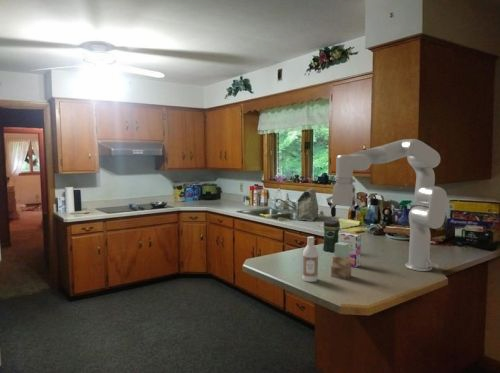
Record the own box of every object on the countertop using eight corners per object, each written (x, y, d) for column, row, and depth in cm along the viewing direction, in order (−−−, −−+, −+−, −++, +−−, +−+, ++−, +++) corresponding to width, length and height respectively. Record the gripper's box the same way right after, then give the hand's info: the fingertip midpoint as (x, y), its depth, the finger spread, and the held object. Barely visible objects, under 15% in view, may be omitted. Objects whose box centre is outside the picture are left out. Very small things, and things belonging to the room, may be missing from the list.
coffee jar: (340, 249, 224) (341, 219, 222) (337, 253, 217) (338, 221, 215) (324, 248, 228) (325, 218, 226) (321, 251, 221) (322, 220, 219)
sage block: (349, 255, 175) (349, 243, 174) (344, 258, 171) (344, 245, 170) (339, 254, 178) (339, 241, 177) (334, 256, 174) (334, 243, 174)
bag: (301, 216, 342) (302, 187, 340) (319, 217, 336) (319, 188, 334) (295, 220, 321) (295, 189, 319) (313, 222, 315) (314, 190, 313)
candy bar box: (360, 265, 192) (361, 234, 190) (355, 267, 188) (356, 236, 187) (341, 261, 200) (342, 231, 198) (336, 263, 196) (337, 232, 195)
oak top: (349, 266, 175) (350, 255, 175) (344, 269, 170) (344, 258, 170) (337, 263, 179) (338, 253, 178) (332, 266, 174) (332, 256, 174)
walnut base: (351, 276, 176) (351, 265, 176) (344, 280, 171) (345, 269, 170) (337, 273, 180) (337, 263, 180) (331, 276, 175) (331, 266, 174)
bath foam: (302, 281, 167) (302, 238, 166) (302, 276, 174) (303, 235, 172) (317, 282, 166) (318, 239, 164) (317, 277, 173) (318, 235, 171)
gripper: (365, 181, 169) (364, 218, 171) (330, 180, 180) (329, 214, 181) (358, 182, 163) (357, 221, 165) (323, 180, 174) (322, 216, 175)
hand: (343, 217), depth 173 cm, fingers open, 9 cm apart
